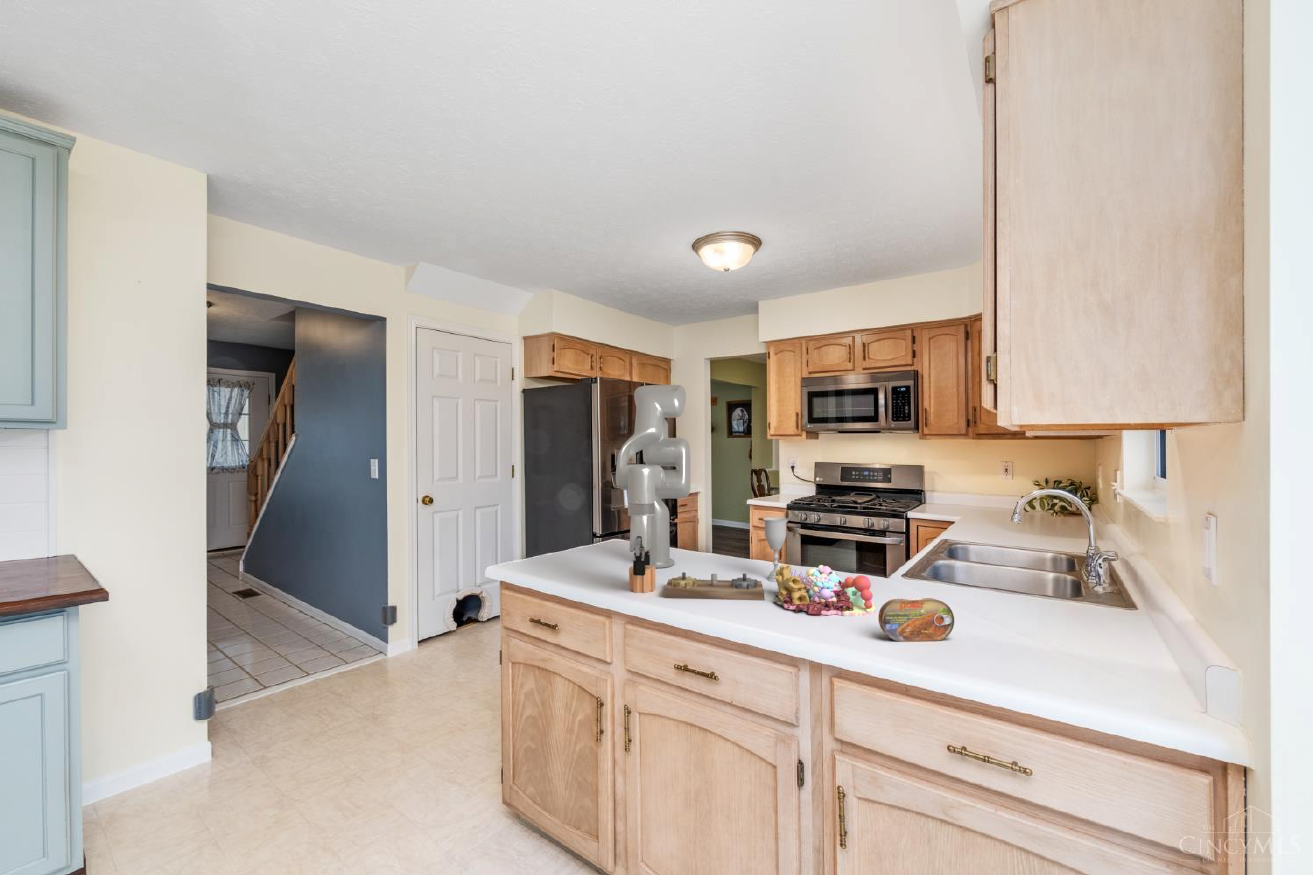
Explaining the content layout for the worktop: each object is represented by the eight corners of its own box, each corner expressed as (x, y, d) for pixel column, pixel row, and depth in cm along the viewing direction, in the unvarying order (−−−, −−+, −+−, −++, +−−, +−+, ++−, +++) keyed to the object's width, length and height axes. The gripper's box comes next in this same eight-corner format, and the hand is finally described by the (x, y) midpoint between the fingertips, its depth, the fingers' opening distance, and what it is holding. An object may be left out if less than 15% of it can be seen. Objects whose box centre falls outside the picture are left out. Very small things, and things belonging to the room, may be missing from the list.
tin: (882, 642, 116) (882, 601, 116) (876, 637, 119) (876, 596, 119) (955, 641, 117) (955, 600, 117) (947, 635, 120) (947, 595, 120)
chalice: (787, 577, 171) (786, 517, 172) (790, 582, 165) (789, 520, 165) (762, 576, 172) (761, 517, 172) (764, 582, 165) (763, 520, 165)
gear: (631, 585, 163) (631, 564, 163) (656, 586, 162) (656, 565, 162) (627, 592, 156) (627, 570, 156) (653, 593, 155) (653, 571, 155)
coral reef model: (785, 619, 133) (785, 579, 133) (763, 592, 156) (762, 558, 156) (891, 616, 134) (890, 577, 134) (852, 590, 157) (852, 557, 157)
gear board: (668, 586, 162) (668, 567, 162) (761, 588, 159) (761, 569, 159) (664, 597, 150) (664, 577, 150) (764, 600, 147) (764, 579, 147)
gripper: (633, 507, 168) (633, 565, 167) (622, 512, 151) (623, 577, 150) (658, 507, 167) (658, 566, 166) (651, 512, 150) (651, 578, 149)
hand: (641, 571), depth 158 cm, fingers open, 9 cm apart
